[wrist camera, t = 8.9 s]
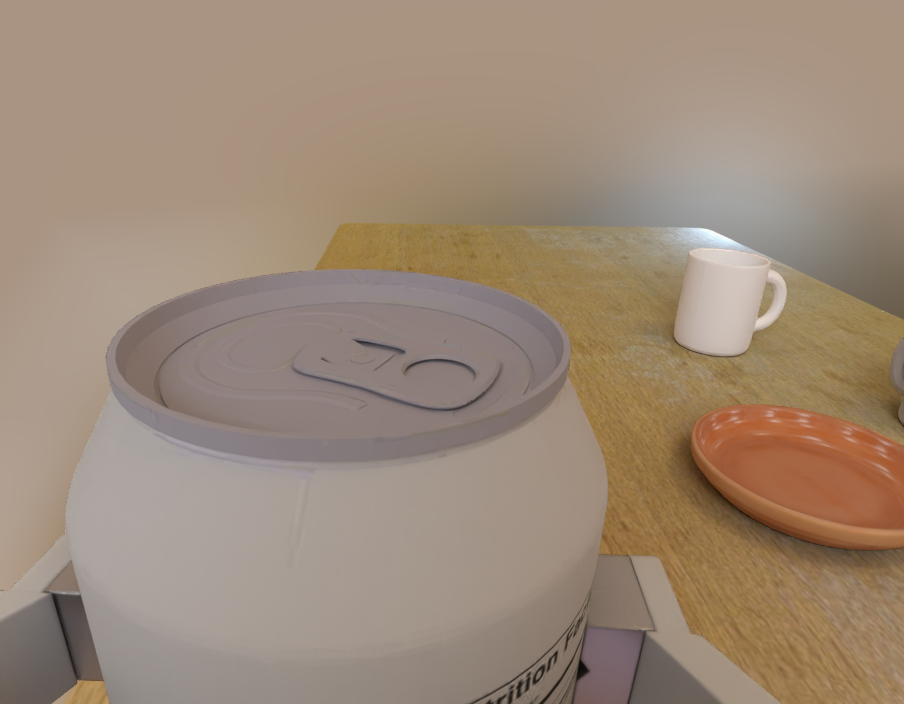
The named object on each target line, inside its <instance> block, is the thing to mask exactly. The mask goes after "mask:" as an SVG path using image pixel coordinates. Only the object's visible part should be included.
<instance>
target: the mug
mask: <svg viewBox="0 0 904 704" xmlns="http://www.w3.org/2000/svg"><path fill="white" fill-rule="evenodd" d="M770 265H771V262H770V260H768V259H766V258H764V257H762V256H759V255H755V254H751V253H747V252H742V251H736V250H728V249H716V248H703V249H695V250H691V251H690V252H689V255H688V260H687V265H686V270H685V275H684V280H683V285H682V290H681V295H680V300H679V305H678V310H677V315H676V321H675V326H674V338H675V340H676V341H677V342H678V343H679V344H680V345H681V346H683V347H685V348H687V349H689V350H692V351H695V352H698V353H702V354H706V355H712V356H724V357H727V356H737V355H740V354H742V353H744V352H745V351H746V350H747V349H748V348H749V346H750V343H751V339H752V336H753V332H754V331H759V330H762V329H764V328H766V327H768V326H769V325H771V324H772V323H773V322H774V321H775V320H776V319H777V318H778V316H779V315H780V313H781V312H782V310H783V308H784V305H785V301H786V295H787V291H786V284H785V281H784V279H783V278H782V277H781V275H779V274H778V273H777V272H775V271H773V270H771V269H770ZM766 283H769V284H770V285H771V286H772V288H773V300H772V303H771V306H770V308H769V309H768V311H767V312H766V313H765V314H764V315H763V316H762V317H760V318H758V319H757V316H758V312H759V308H760V304H761V300H762V296H763V292H764V288H765V285H766Z"/></svg>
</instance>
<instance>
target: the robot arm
mask: <svg viewBox="0 0 904 704" xmlns="http://www.w3.org/2000/svg"><path fill="white" fill-rule="evenodd" d="M77 680H86V681H104V679H103V676H102V672H101V668H100V664H99V661H98V657H97V653H96V649H95V646H94V642H93V638H92V634H91V631H90V627H89V623H88V619H87V616H86V612H85V608H84V605H83V601H82V597H81V593H80V590H79V586H78V582H77V578H76V575H75V571H74V567H73V563H72V560H71V556H70V552H69V548H68V542H67V536H66V532H65V533H64V534H63V535H62V536H61V537H60V538H59V539H58V540H57V541H56V542H55V543H54V544H53V545H52V546H51V547H50V548H49V549H48V550H47V551H46V552H45V553H44V554H43V555H42V557H40V559H39V560H38V561H37V562H36V563H35V564H34V565H33V566H32V567H31V568H30V569H29V570H28V571H27V572H26V573H25V574H24V575H23V576H22V577H21V578H20V579H19V580H18V581H17V582H16V583H15V584H14V585H13V586H12V587H11V588H10V589H9V590H0V704H52V703H53V702H54V701H55V700H57V699H58V698H59V697H61V696H62V695H63V694H64V693H66V692H67V691H68V690H70V689H71V688H72V687H73V686H75V685H76V684H77ZM572 704H782V703H781V702H779V701H778V700H777V699H776V698H775V697H773V696H772V695H771V694H770V693H769V692H768V691H766V690H765V689H764V688H763V687H762V686H760V685H759V684H758V683H757V682H756V681H755V680H753V679H752V678H751V677H750V676H749V675H747V674H746V673H745V672H744V671H743V670H742V669H740V668H739V667H738V666H737V665H736V664H734V663H733V662H732V661H731V660H730V659H729V658H727V657H726V656H725V655H724V654H723V653H721V652H720V651H719V650H718V649H717V648H716V647H714V646H713V645H712V644H711V643H710V642H709V641H707V640H706V639H705V638H704V637H703V636H701V635H696V634H691V632H690V629H689V627H688V625H687V622H686V620H685V617H684V615H683V613H682V610H681V608H680V605H679V603H678V601H677V598H676V596H675V593H674V591H673V589H672V586H671V584H670V581H669V579H668V577H667V574H666V572H665V569H664V567H663V565H662V562H661V560H660V559H659V558H658V557H657V556H643V555H626V556H625V555H611V554H598V559H597V565H596V570H595V576H594V581H593V587H592V593H591V598H590V604H589V609H588V615H587V620H586V626H585V632H584V637H583V643H582V648H581V654H580V660H579V665H578V671H577V676H576V682H575V687H574V693H573V699H572Z"/></svg>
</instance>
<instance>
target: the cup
mask: <svg viewBox="0 0 904 704" xmlns="http://www.w3.org/2000/svg"><path fill="white" fill-rule="evenodd" d="M889 371H890V380H891V382H892V384H893V386H894V388H895V389H896V390H897V391H898V392H899V393H900V394H901V395H903V399H902V401H901V404H900V407H899V411H898V417H899V419H900V421H901V423H902V424H903V425H904V338H903V339H901V340H900V342H899V343H898V345H897V346H896V348H895V350H894V352H893V355H892V358H891V362H890V369H889Z"/></svg>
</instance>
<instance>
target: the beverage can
mask: <svg viewBox="0 0 904 704" xmlns="http://www.w3.org/2000/svg"><path fill="white" fill-rule="evenodd" d="M570 356H571V344H570V339H569V337H568V335H567V333H566V331H565V330H564V328H563V327H562V326H561V324H560V323H559V322H558V321H557V320H556V319H555V318H554V317H552V316H551V315H550V314H548V313H547V312H546V311H544V310H543V309H541V308H540V307H538V306H536V305H534V304H533V303H531V302H529V301H527V300H524V299H522V298H520V297H518V296H515V295H513V294H510V293H507V292H505V291H502V290H499V289H496V288H492V287H489V286H486V285H482V284H478V283H474V282H470V281H465V280H460V279H455V278H450V277H444V276H438V275H431V274H423V273H415V272H404V271H391V270H370V269H333V270H312V271H298V272H288V273H278V274H270V275H263V276H256V277H250V278H245V279H239V280H234V281H229V282H225V283H221V284H216V285H213V286H209V287H205V288H201V289H198V290H195V291H192V292H188V293H185V294H182V295H180V296H177V297H175V298H172V299H169V300H167V301H165V302H162V303H160V304H158V305H156V306H154V307H152V308H150V309H148V310H146V311H145V312H143V313H141V314H139V315H138V316H136V317H135V318H133V319H132V320H131V321H129V322H128V323H127V324H126V325H124V326H123V328H121V329H120V330H119V331H118V332H117V334H116V335H115V336H114V337H113V339H112V340H111V342H110V344H109V346H108V349H107V354H106V364H107V371H108V375H109V381H110V385H111V388H112V389H111V391H110V393H109V396H108V398H107V400H106V403H105V405H104V407H103V409H102V412H101V414H100V416H99V418H98V421H97V423H96V425H95V427H94V430H93V432H92V434H91V436H90V439H89V441H88V443H87V445H86V448H85V450H84V452H83V454H82V457H81V459H80V461H79V464H78V466H77V468H76V470H75V473H74V476H73V478H72V482H71V484H70V487H69V492H68V496H67V501H66V510H65V529H66V536H67V542H68V548H69V552H70V556H71V560H72V563H73V567H74V571H75V575H76V578H77V582H78V586H79V590H80V593H81V597H82V601H83V605H84V608H85V612H86V616H87V619H88V623H89V627H90V631H91V634H92V638H93V642H94V646H95V649H96V653H97V657H98V661H99V664H100V668H101V672H102V676H103V679H104V683H105V687H106V691H107V694H108V698H109V702H110V704H572V699H573V693H574V687H575V682H576V676H577V671H578V665H579V660H580V654H581V648H582V643H583V637H584V632H585V626H586V620H587V615H588V609H589V604H590V598H591V593H592V587H593V581H594V576H595V570H596V565H597V559H598V553H599V548H600V542H601V537H602V531H603V526H604V520H605V514H606V509H607V501H608V479H607V471H606V466H605V462H604V457H603V454H602V451H601V448H600V446H599V444H598V441H597V439H596V437H595V435H594V432H593V430H592V428H591V425H590V423H589V421H588V419H587V416H586V414H585V412H584V410H583V407H582V405H581V403H580V401H579V398H578V396H577V394H576V392H575V389H574V387H573V385H572V383H571V380H570V378H569V376H568V371H569V364H570Z"/></svg>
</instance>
